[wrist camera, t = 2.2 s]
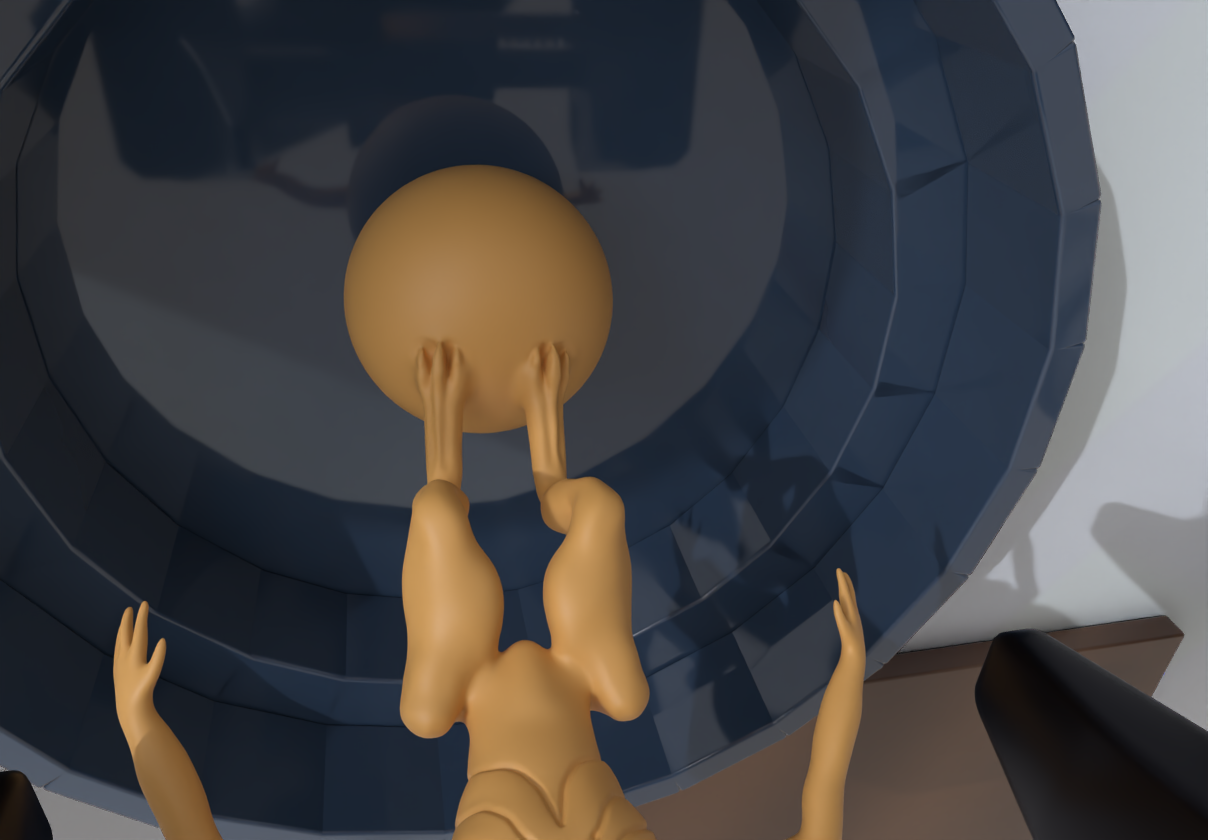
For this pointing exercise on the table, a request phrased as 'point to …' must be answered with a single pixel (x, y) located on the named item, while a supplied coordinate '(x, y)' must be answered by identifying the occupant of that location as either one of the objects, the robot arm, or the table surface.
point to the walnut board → (904, 752)
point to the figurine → (447, 544)
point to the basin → (503, 459)
